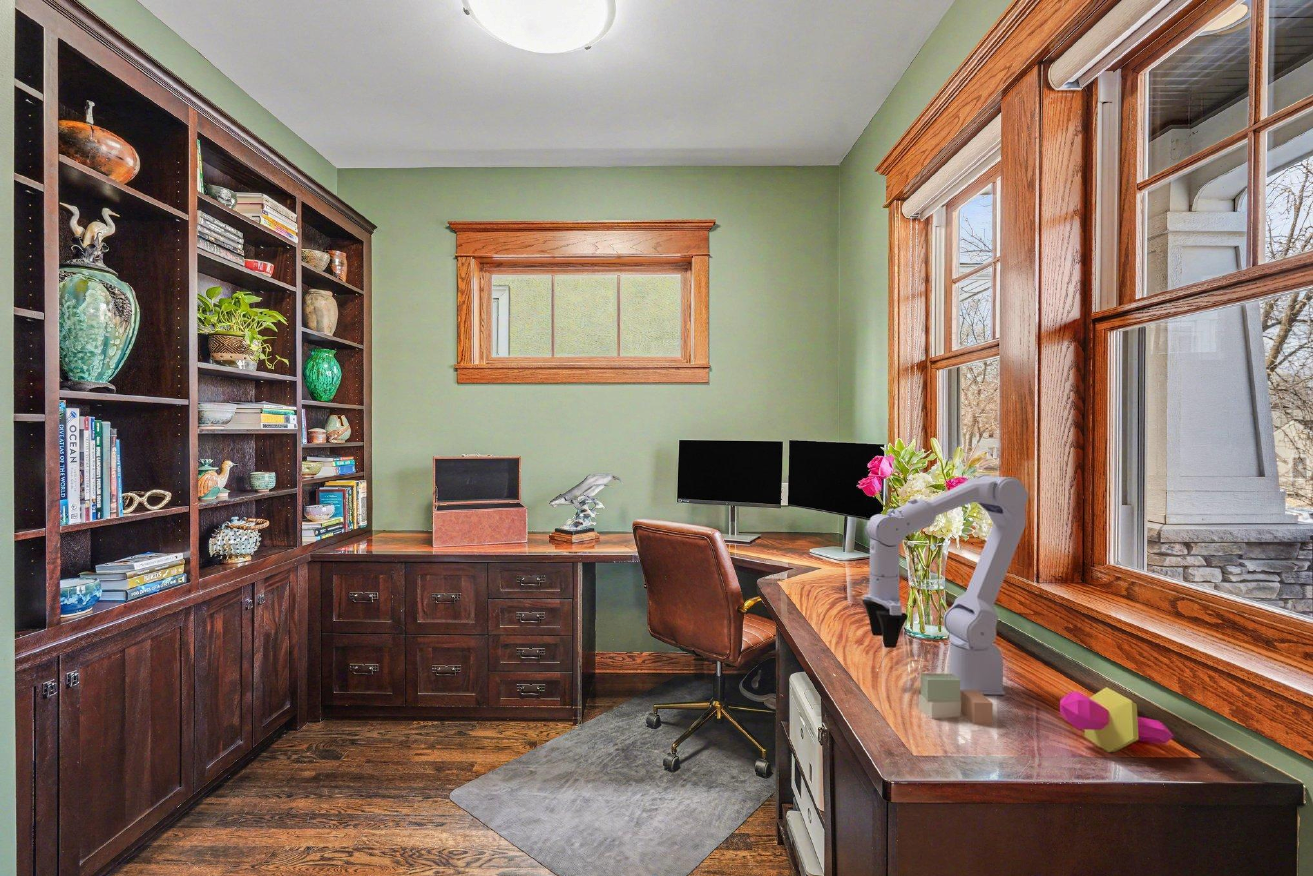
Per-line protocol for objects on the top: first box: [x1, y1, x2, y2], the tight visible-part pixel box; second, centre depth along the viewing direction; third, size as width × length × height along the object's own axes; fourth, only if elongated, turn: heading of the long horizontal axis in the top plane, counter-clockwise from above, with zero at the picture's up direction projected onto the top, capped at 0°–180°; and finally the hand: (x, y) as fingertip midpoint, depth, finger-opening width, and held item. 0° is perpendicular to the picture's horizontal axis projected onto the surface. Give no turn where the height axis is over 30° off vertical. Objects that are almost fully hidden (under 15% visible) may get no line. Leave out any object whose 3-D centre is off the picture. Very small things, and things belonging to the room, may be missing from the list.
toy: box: [1059, 686, 1174, 753], centre depth 107 cm, size 10×18×10 cm, turn 92°
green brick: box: [920, 672, 961, 702], centre depth 119 cm, size 6×3×4 cm, turn 89°
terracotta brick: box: [960, 689, 994, 726], centre depth 118 cm, size 6×3×4 cm, turn 177°
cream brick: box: [918, 694, 962, 720], centre depth 120 cm, size 6×4×3 cm, turn 101°
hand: (883, 641), depth 130 cm, fingers open, 7 cm apart
